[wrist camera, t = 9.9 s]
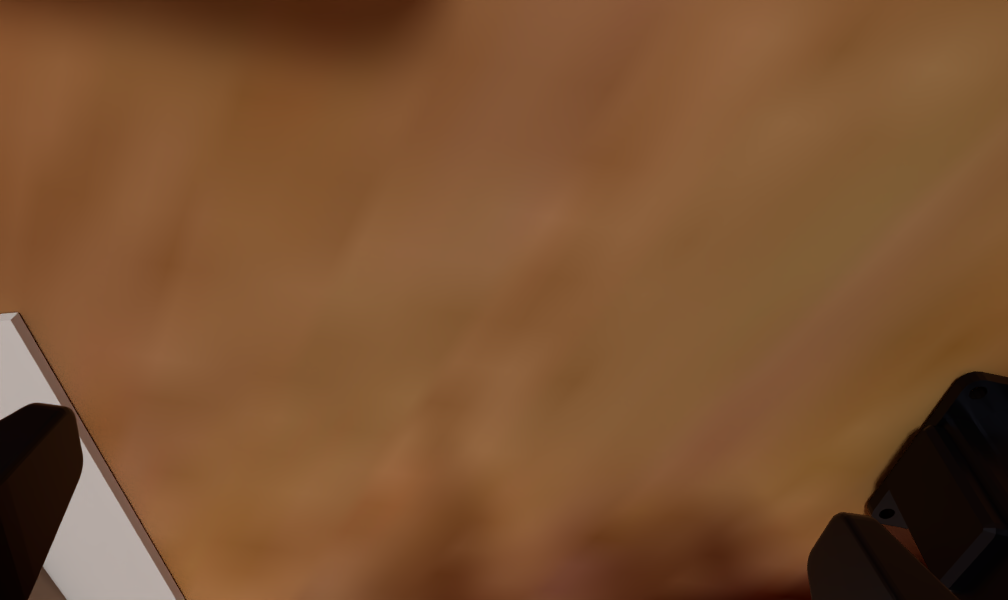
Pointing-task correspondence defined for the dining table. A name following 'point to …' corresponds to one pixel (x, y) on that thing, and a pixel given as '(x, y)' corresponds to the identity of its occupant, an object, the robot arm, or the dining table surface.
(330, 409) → the dining table surface
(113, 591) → the mat
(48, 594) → the long brown bar
